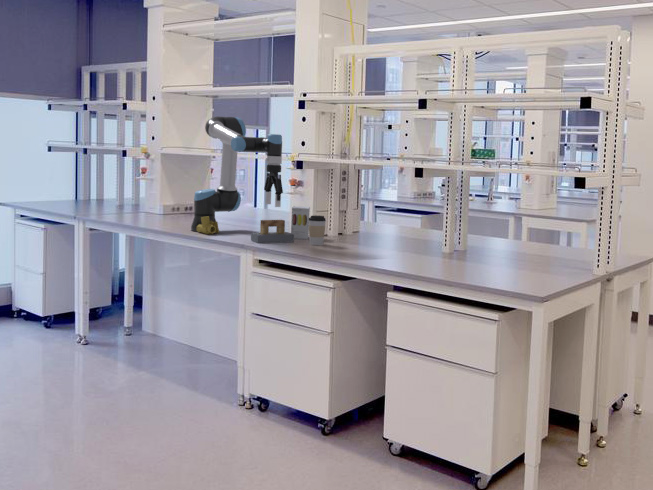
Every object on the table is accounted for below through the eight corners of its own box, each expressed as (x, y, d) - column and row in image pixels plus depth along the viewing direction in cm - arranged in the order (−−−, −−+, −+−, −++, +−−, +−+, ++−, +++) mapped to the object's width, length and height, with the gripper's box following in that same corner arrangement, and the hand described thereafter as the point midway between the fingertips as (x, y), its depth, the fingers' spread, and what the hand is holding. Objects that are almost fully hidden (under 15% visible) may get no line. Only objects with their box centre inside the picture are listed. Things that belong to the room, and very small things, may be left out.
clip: (262, 242, 375) (263, 220, 374) (260, 241, 379) (260, 220, 377) (284, 241, 381) (284, 220, 379) (281, 240, 384) (282, 219, 383)
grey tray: (257, 243, 371) (257, 235, 370) (251, 240, 380) (251, 232, 379) (293, 241, 380) (293, 234, 379) (286, 239, 388) (286, 232, 388)
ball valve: (209, 236, 395) (224, 233, 402) (206, 218, 393) (221, 214, 400) (196, 235, 404) (210, 232, 411) (193, 217, 402) (208, 214, 409)
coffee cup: (305, 244, 370) (305, 215, 368) (311, 242, 379) (311, 214, 377) (321, 246, 368) (322, 216, 365) (327, 244, 376) (328, 215, 374)
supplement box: (290, 238, 393) (291, 207, 391) (291, 236, 402) (292, 206, 400) (308, 239, 393) (308, 208, 390) (309, 237, 402) (310, 206, 399)
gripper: (258, 163, 384) (257, 203, 387) (276, 165, 361) (275, 208, 365) (272, 163, 387) (270, 203, 390) (290, 165, 365) (288, 208, 368)
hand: (272, 205), depth 377 cm, fingers open, 13 cm apart
